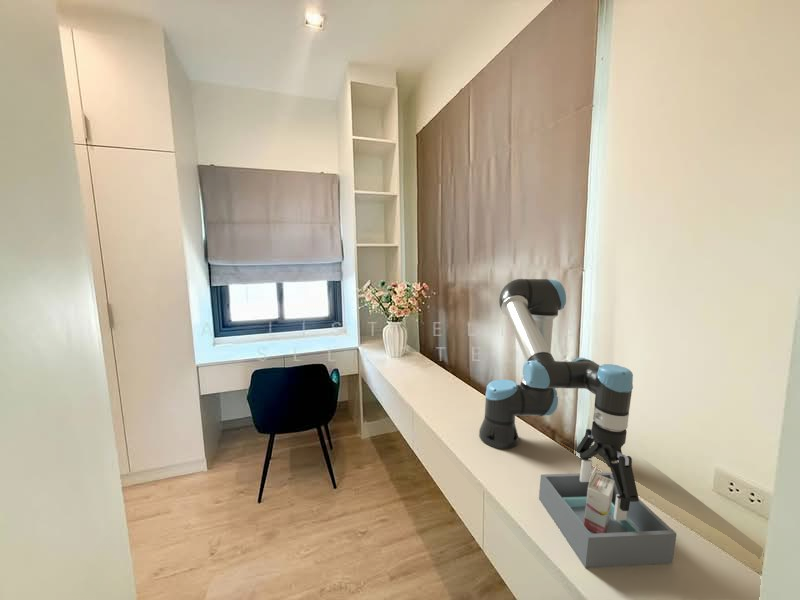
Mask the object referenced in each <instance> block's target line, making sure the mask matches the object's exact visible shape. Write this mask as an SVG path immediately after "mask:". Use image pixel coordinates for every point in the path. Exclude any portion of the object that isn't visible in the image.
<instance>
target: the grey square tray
mask: <svg viewBox="0 0 800 600" xmlns="http://www.w3.org/2000/svg"><path fill="white" fill-rule="evenodd" d="M592 473H593V472H591V475H592ZM596 474H599V475H601V476H604V477H606V478H609V479H612V480H614V478H613V475H612V472H596ZM539 482H540V483H539V490H538V491H539V494H538V500H539V502H540V503H541V504H542V505H543V507H544V509H545V510H546V512H547V513H548V515H549V516H550V517H551V519H552V521H553V520H554V521H553V522H554V524H555V523H556V524H555V525H556V527H557V526H558V527H557V528H558V529H560V530H559V531H560V532H561V534H562V536H563V537H564V538H566V539H565V540H566V541H567V543H568V544H569V546H570V547H571V549H572V551H574V554H575V555H576V556H577V558H578V559H579V561H580V562H581V564H582V565H583V567H584V568H586V569H590V568H608V567H609V568H610V567H631V566H646V565H647V566H649V565H664V564H665V565H668V564H669V565H670V564H673V561H674V560H673V559H674V553H675V547H676V540H677V532H676V531H674V529H672V528H671V527H670V526H669V525H668V524H667V523H666V522H664V521H663V519H661V518H660V517H659V515H657V514H656V513H655V512H654V511H653V510H651V508H649V507H648V506H647V505H646V504H645V503H644V502H643V501H642V500H641V499H640V498H639V501H637V502H630V506H629V510H628V511H627V516H626V520H615V519H614V518H613V517H614V509H615V501H616V494H619V493H618V490H617V487H616V484H615V482H614V488H613V495H612V502H611V510H610V518H609V522H608V525H607V528H606V531H605V533H598V534H597V533H595V532H593V531H591V530H589V529H587V528H586V527H585V526H584V520H585V510H586V501H587V491H588V485H589V482H580V472H579V473H550V474H547V473H546V474H540V480H539Z"/></svg>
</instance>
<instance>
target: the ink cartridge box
mask: <svg viewBox="0 0 800 600" xmlns="http://www.w3.org/2000/svg"><path fill="white" fill-rule="evenodd" d="M597 468H598V463H597V464H596V465H595V467H594V469H593V471H592V472H591V473H592V475H591V477H590V481H589V485H588V491H587V501H586V510H585V520H584V526H585V527H586V528H587V529H589V530H591V531H593V532H595V533H597V534H598V533H605V531H606V528H607V525H608V522H609V518H610V510H611V502H612V495H613V488H614V482H615V481H614V480H612V479H609V478H606V477H604V476H601V475H599V474H596V473H597Z"/></svg>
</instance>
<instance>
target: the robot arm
mask: <svg viewBox="0 0 800 600" xmlns="http://www.w3.org/2000/svg"><path fill="white" fill-rule="evenodd" d="M566 293H567V292H566V290H565V288H564V286H563V284H562V283H561V282H560V281H559V280H556V279H550V278H549V279H548V278H517V279H513V280H511V281H509V282H508V283H507V284H505V285H504V287H503V288H502V290H501V292H500V294H499V299H498V303H499V307H500V310H501V312H502V313H503V315H505V316H506V317H507V320H508V322H509V324H510V326H511V328H512V331H513V333H514V336H515V339H516V340H517V343H518V345H519V348H520V350H521V352H522V355H523V357H524V359H525V360H524V361H525V362H524V364H523V365H522V366H523V367H522V375H523V376H522V377H521V378H520V384H517V382H515V381H513V380H510V379H506V378H505V379H503V378H502V379H494V380H492V381H490V382H489V383H488V384H487V386H486V389H485V402H484V404H485V405H484V418H483V420H482V422H481V425H480V427H479V432H478V433H479V434H478V436H479V439H480V440H481V441H482V442H483V443H484V444H485V445H487V446H490V447H492V448H496V449H500V450H501V449H502V450H508V449H513V448H515V447H516V446H518V443H519V434H518V430H517V425H516V417H517V416H522V417H523V416H529V417H531V416H532V417H536V416H537V417H543V416H544V417H546V416H551V415H553V414H554V413H555V411H556V410H557V407H558V405H559V397H558V392H557V390H556V389H583V390H584V389H586V390H588V391H589V392H590V393H592V394H594V395H595V396H594V409H593V417H592V418H593V419H592V420H593V421H592V424H591V428H586V429H585V433H584V436H583V437H582V439H581V441H580V442H579V444H578V446H577V447H576V449H575V450H576V453H577V454H579V459H580V466H579V467H580V471H579V473H580V482H589V481H590V477H591V473H592V467H593V465H592V464H593V460H592V458H593V457H594V456H596V455H598V456H599V457H601V458H602V459H603V460H604V461H605V463H606V465H607V467H608V468H610V473H611V474H612V475H613V478H614V481H615V484H616V487H617V490H618V493H619V494H616V501H615V509H614V517H613V518H614V519H615V520H626V516H627V511H628V510H629V506H630V502H637V501H639V499H640V498H639V493H638V490H637V484H636V480H635V476H634V472H633V459H632V457H631V456H630V455H625V454H623V451H622V448H623V446H624V445H625V444H626V439H627V429H628V426H629V424H628V423H629V415H630V407H631V399H632V392H633V388H634V384H633V381H634V379H633V378H634V375H633V372H632V371H631V370H630V369H629V368H628V367H625V366H621V365H618V364H612V363H611V364H609V363H605V364H601V365H600V364H598V363H597V362H595V361H593V360H591V359H587V358H585V357H577V358H575V359H573V360H570V361H562V360H561V361H560V360H559V361H558V360H557V361H556V359H555V358H554V356H553V355H552V353H551V350H552V339H553V327H554V326H553V325H554V319H555V318H557V317H558V316H559V311H561V310H563V309H564V308H565V307H566V305H567V304H566V303H567V295H566ZM615 462H617V463H615Z"/></svg>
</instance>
